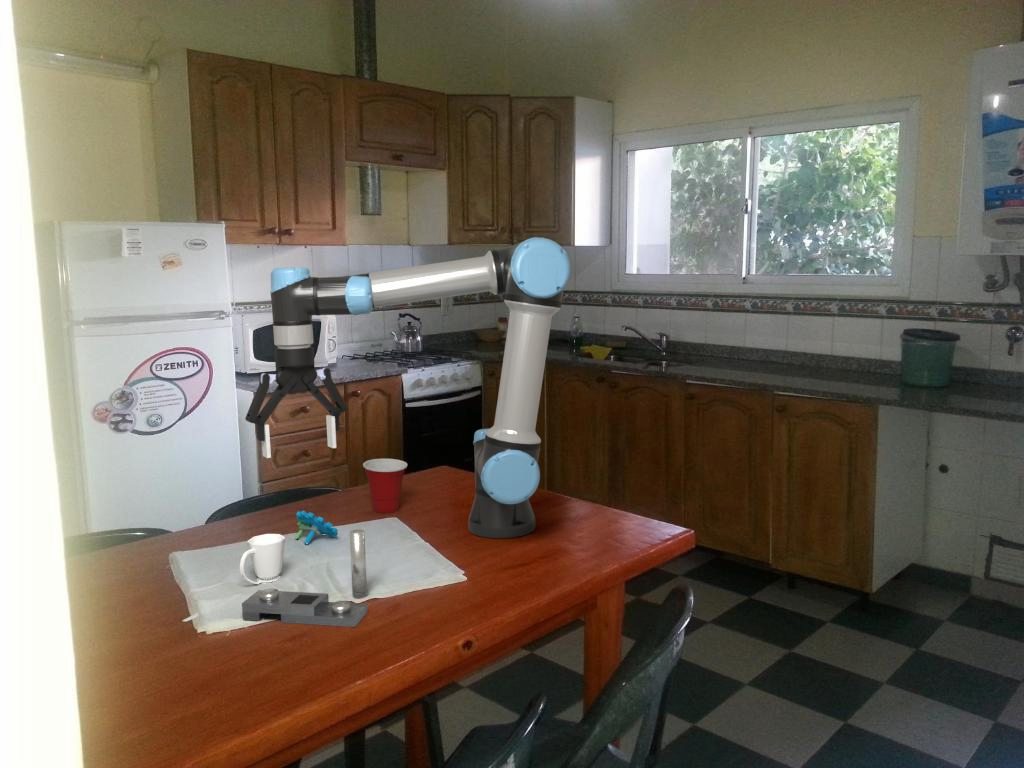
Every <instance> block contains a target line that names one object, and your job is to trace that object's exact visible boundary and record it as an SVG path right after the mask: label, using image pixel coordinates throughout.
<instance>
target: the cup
mask: <svg viewBox="0 0 1024 768" xmlns="http://www.w3.org/2000/svg"><path fill="white" fill-rule="evenodd" d="M246 543H247V546H248V547H247V548H248V550H246V551H245V552H244V553H243V554H242V557H241V558H240V562H239V563H240V564H239V573H240V577H241V578H242V579H243V580H245V581H246V582H248V583H250V584H255V585H260V584H259V583H261V582H272V581H276V580H278V579H279V578H280V577H281V576H280V574H281V573H282V569H283V564H284V555H285V546H286V545H285V543H286V537H285V536H283V535H282V534H281V533H264V534H259V535H255V536H252V537H251V538H250V539H248V540H247V541H246ZM248 555H250V560H251V563H252V564H251V565H252V567H253V571H254V573H255V575H256V576H257V578H256V581H254V580H251V579H249V578H248V577H247V576H246V574H245V562H246V560H247V557H248ZM271 577H272V579H271ZM273 577H274V578H273ZM262 578H270V579H267V580H266V579H265V580H264V579H262ZM280 579H281V578H280ZM280 579H279V580H280ZM257 580H258V581H257ZM279 580H278V581H279Z"/></svg>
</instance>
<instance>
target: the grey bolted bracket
mask: <svg viewBox="0 0 1024 768" xmlns="http://www.w3.org/2000/svg"><path fill="white" fill-rule="evenodd" d="M241 609H242V610H241V611H242V621H249V622H260V621H261V620H263V619H264V618H265V617H266V616H267V615H268V614H274V615H280V622H281V623H283V624H297V625H299V624H301V625H312V626H313V625H315V626H331V627H346V628H347V627H348V628H349V627H350V628H355V627H357V625H358V624H359V623H360V622H361V620H363V618H364V617H365V616H366V615H367V614H368V604H367V603H352V602H351V601H348V600H338V601H329V593H324V592H323V593H322V592H301V591H282V590H279V589H277V588H266V589H258V590H256V592H254V593H253V594H252V595H251V596H249V597H248V598H246V599H245V600H244V601H243V602H241Z"/></svg>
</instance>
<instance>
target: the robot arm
mask: <svg viewBox="0 0 1024 768" xmlns="http://www.w3.org/2000/svg"><path fill="white" fill-rule="evenodd" d="M571 267H572V266H571V261H570V258H569V255H568V253H567V251H566V250H565V249H564V248H563V247H562V246H561V245H560V244H559V243H557V242H556V241H554V240H552V239H550V238H545V237H536V236H535V237H530V238H528V239H526V240H523V241H521V242H518V243H516V244H512V245H510V246H507V247H502V248H499V249H498V248H497V249H493V250H488V251H487V253H485V254H484V256H477V257H471V258H463V259H457V260H456V259H455V260H451V261H443V262H436V263H435V262H433V263H429V264H422V265H416V266H414V265H413V266H406V267H401V268H393V269H388V270H381V271H373V272H367V273H359V274H358V273H357V274H354V275H353V274H352V275H344V276H324V277H317V276H316V277H315V276H311V274H310V270H309V268H308V267H276V268H273V269H272V271H271V273H270V299H271V300H270V301H271V313H272V315H271V316H272V327H273V329H272V330H273V331H272V332H273V343H274V346H277V347H276V348H275V349H274V363H275V364H274V365H275V366H274V367H275V372H274V374H273V373H265V372H261V373H260V374H259V382H258V387H257V389H256V392H255V394H254V396H253V398H252V402H251V403H250V406H249V408H248V411H247V413H246V416H245V421H246V422H248V423H250V424H254V425H255V432H256V439H257V441H259V442H261V451H262V457H264V458H266V459H270V458H272V454H271V452H272V451H271V437H270V424H268V423H266V422H267V421H268V419H269V418H270V417H271V416H272V414H273V412H274V411H275V409H277V406H278V405H279V404H280V402H281V401H282V400H283V398H285V397H286V395H287V394H289V395H296V394H298V393H299V394H300V393H301V394H306V393H307V392H308V393H310V394H311V395H312V396H313V397H314V398H315V399H316V400H317V402H319V404H320V405H321V406H322V407H323V408H324V409H325V410H326V411H327V412H328V414H327V415H325V420H326V421H325V422H326V423H325V424H326V436H327V437H326V438H327V439H326V440H327V447H329V448H331V449H337V435H336V434H337V433H336V432H337V431H340V417H341V415H342V413H344V412H345V413H346V412H347V411H348V410H349V409H348V408H349V407H348V405H347V403H346V402H345V401H344V399H343V397H342V395H341V393H340V391H339V389H338V387H337V386H336V383H334V381H333V379H332V373H331V372H332V371H331V369H330V368H328V367H321V368H320V369H316V368H315V349H314V347H313V346H311V345H313V344H314V330H313V328H314V327H313V316H349V315H352V316H358V315H368V314H370V313H372V311H373V309H375V308H383V307H390V306H396V305H403V304H410V303H417V302H425V301H431V300H436V299H445V298H446V299H447V298H451V297H457V296H465V295H471V294H472V295H473V294H479V293H486V292H490V293H491V294H493V295H494V296H496V295H497V296H498V295H504V299H503V302H504V303H505V305H506V306H507V307H508V309H509V317H508V323H507V324H508V325H507V330H506V339H505V346H504V352H503V361H502V367H501V373H500V374H501V375H500V379H499V388H498V394H497V403H496V409H495V416H494V422H493V425H492V426H491V427H490V428H481V429H478V430H476V431H475V432H474V433H473V434H474V435H473V442H472V444H473V447H474V449H473V450H474V451H473V452H474V455H473V456H474V483H475V484H474V487H475V494H474V495H475V497H474V499H473V503H472V506H471V510H470V513H469V516H468V531H469V532H470V533H471V534H473V535H475V536H479V537H482V538H487V539H510V538H511V539H512V538H517V537H518V538H519V537H521V536H525V535H528V534H531V533H533V532H534V531H535V529H536V517H535V513H534V510H533V508H532V505H531V503H530V500H529V499H530V498H531V496H533V495H534V494H535V492H536V491H537V489H538V487H539V485H540V480H541V470H540V466H539V464H538V463H539V458H540V450H541V444H542V439H541V437H540V436H539V435H538V433H537V431H536V428H537V427H536V426H537V422H538V421H537V420H538V415H539V414H538V413H539V406H540V399H541V392H542V386H543V385H542V384H543V380H544V372H545V366H546V359H547V352H548V346H549V340H550V339H549V338H550V331H551V325H552V324H551V323H552V319H553V318H552V317H553V316H554V315H555V314H556V313H558V312H559V311H560V310H561V309H562V302H563V295H564V289H565V288H566V286H567V284H568V282H569V280H570V277H571V270H572V269H571ZM317 377H318V379H319V380H321V381H322V384H323V386H325V389H326V390H327V392H328V394H329V396H330V398H331V399H332V402H333V403H334V404H333V403H332V402H331V400H329V399H328V397H326V395H325V394H324V393H323V392H322V391H321V390H320V389H319V387H318V386H317V385H316V384H315V383H314V382H315V380H316V379H317ZM274 381H275V382H276V383H277V387H275V389H274V391H273V394H272V395H271V396H270V398H269V399H268V401H266V404H265V405H264V406H263V404H264V401H265V398H266V397H267V394H268V391H269V389H270V386H271V385H272V384H273V382H274ZM262 406H263V407H262Z"/></svg>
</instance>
